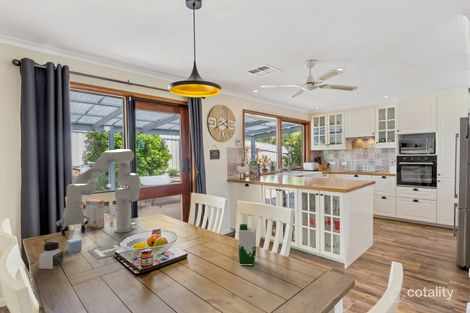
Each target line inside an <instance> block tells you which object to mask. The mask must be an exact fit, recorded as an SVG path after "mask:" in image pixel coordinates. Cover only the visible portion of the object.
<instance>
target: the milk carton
mask: <svg viewBox="0 0 470 313" xmlns="http://www.w3.org/2000/svg"><path fill="white" fill-rule="evenodd" d="M238 229H239V230H238V261H239V263H240V264H254V265H255V260H256V256H257V231H256V230H257V229H256V227H252V226H248V224H245V223H240V224H239V228H238ZM239 263H238V264H239Z"/></svg>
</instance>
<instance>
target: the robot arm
mask: <svg viewBox="0 0 470 313" xmlns="http://www.w3.org/2000/svg"><path fill="white" fill-rule="evenodd" d="M134 158H135V153H134V151H133V150H131V149H115V150H106V151H103V152H102V153H101V154H100V155H99V156H98V158H97V159H96V161H95V162H94V164H93V165H92V166H91V167H90V168H88V169H86V170H85V171H84V172H82V173H80V175H79V176H77V178H76V179H75V180H74V182H73V183H70V184H68V185H67V186H66V200H65V201H66V204H65V205H66V207H64V210H63V212H62V218H60V219H59V220H57V221H56V222H55V225H57V228H59V229H61V230H60V231H61V233H60V234H61V236H62V237H63V238H64V237H65V236H66V227H69V226H74V225H81V228H80V229H81V230H80V231H81V233H82V234H84V233H85V231H86V224H87V223H88V222H89V220H90V218H89V217H86V215H85V212H84V207H83V205H85V201H82V200H83V199H82V198H83V197H82V196H91V195H93V194H95V192H96V191H97V186H96V185H95V184H94V183H93V182H90V181H92V180H93V179H96V178H99V177H102V176H103V175H105V173H107V171H108V169H109V167H110V166H111V164H116V165H117V168H118V169H117V183H118V185H119V186H123V187H118V188H117V189H116V190H115V192H114V198H115V204H116V206H115V207H116V213H115V214H116V223H115V224H116V227H115V228H114V229H113V231H114V232H115V233H117V234H119V233H127V232H131V231H132V230H133V227H136V226H138V223H137V222H131V203H130V202H136V201H138V199H139V197H140V191H141V190H140V189H141V187H140V186H141V179H140V175H139V174H137V173H135V172H134V173H132V172H131V164H130V162H132V161H133V160H134ZM86 219H87V220H86ZM61 223H62V225H61Z"/></svg>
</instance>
